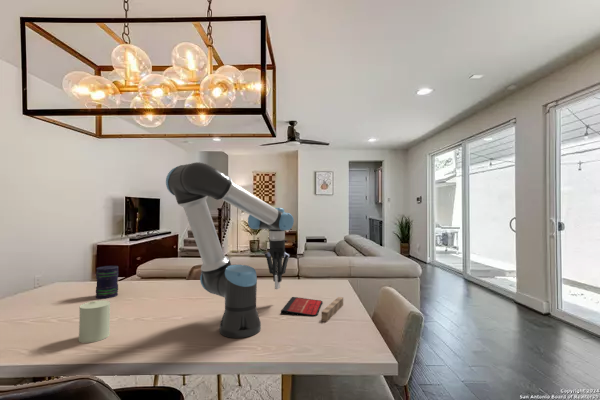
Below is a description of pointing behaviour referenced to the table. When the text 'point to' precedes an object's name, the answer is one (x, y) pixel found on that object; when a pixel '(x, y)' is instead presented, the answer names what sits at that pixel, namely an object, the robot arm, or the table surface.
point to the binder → (302, 307)
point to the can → (94, 321)
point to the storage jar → (107, 282)
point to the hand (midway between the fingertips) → (277, 288)
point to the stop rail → (332, 309)
